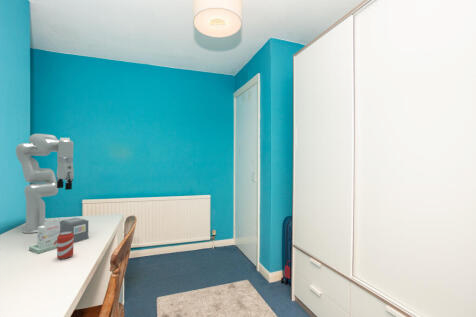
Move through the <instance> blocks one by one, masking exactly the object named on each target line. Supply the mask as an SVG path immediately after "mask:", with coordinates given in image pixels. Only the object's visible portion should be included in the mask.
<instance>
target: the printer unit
mask: <svg viewBox="0 0 476 317" xmlns="http://www.w3.org/2000/svg"><path fill="white" fill-rule="evenodd" d="M65 231H72V233H73V235H74V243H78V242H81V241H84V240H87V239H89V220H88V219H85V218H81V217H80V218H79V217H72V218H66V219H62V220H61V219H60V233H61V232H65Z"/></svg>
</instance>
